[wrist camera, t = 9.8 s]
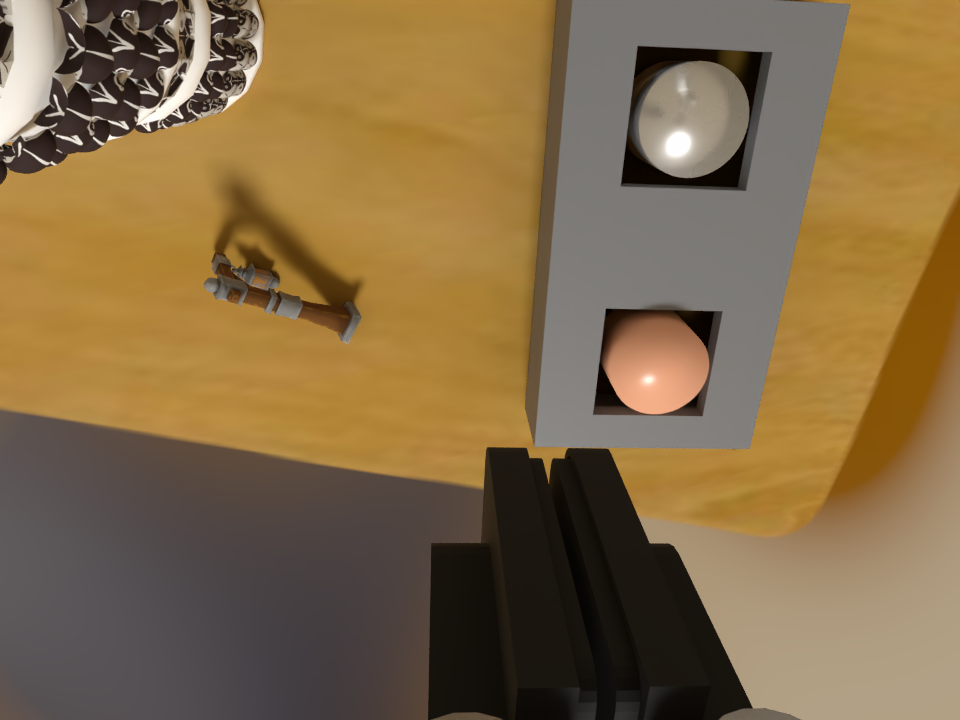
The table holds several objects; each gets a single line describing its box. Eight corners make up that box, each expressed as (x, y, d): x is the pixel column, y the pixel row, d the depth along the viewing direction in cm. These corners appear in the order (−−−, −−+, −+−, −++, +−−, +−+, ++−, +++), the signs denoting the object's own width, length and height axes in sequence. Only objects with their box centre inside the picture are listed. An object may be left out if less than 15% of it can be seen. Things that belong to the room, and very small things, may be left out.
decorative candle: (309, 79, 34) (40, 122, 11) (146, 158, 35) (-406, 346, 12) (207, -127, 30) (-497, -686, 8) (29, -33, 32) (-1059, -271, 9)
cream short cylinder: (625, 58, 34) (647, 58, 30) (725, 63, 34) (759, 63, 31) (613, 164, 36) (632, 176, 32) (707, 167, 36) (737, 179, 33)
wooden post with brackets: (202, 236, 36) (213, 274, 33) (341, 280, 41) (362, 318, 37) (190, 266, 37) (199, 307, 33) (328, 306, 41) (348, 346, 38)
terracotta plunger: (600, 297, 38) (618, 323, 34) (690, 300, 38) (717, 325, 35) (591, 380, 40) (606, 413, 36) (676, 382, 40) (700, 414, 37)
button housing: (556, -3, 33) (573, -11, 29) (800, 10, 34) (850, 4, 30) (525, 408, 42) (534, 446, 38) (719, 411, 43) (749, 449, 38)
